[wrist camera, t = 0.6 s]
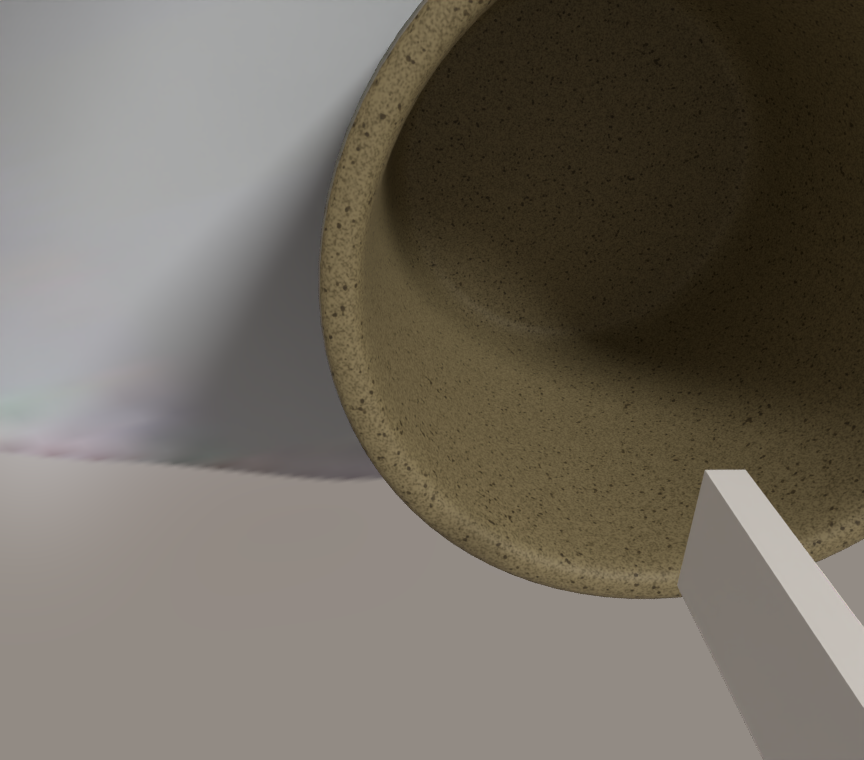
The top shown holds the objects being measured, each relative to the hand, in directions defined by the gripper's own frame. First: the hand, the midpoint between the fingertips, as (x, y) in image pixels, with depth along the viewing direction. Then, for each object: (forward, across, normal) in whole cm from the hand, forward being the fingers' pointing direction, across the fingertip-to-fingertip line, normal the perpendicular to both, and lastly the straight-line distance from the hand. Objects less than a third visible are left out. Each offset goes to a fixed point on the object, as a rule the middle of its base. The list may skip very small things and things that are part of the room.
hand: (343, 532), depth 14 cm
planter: (+26, +9, +2) cm, 27 cm away
